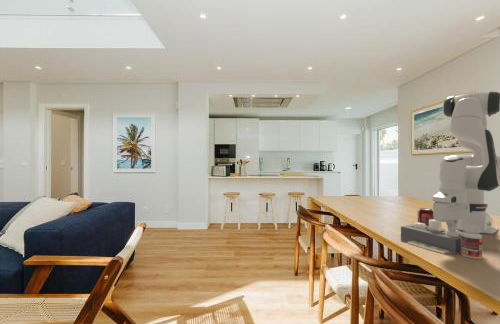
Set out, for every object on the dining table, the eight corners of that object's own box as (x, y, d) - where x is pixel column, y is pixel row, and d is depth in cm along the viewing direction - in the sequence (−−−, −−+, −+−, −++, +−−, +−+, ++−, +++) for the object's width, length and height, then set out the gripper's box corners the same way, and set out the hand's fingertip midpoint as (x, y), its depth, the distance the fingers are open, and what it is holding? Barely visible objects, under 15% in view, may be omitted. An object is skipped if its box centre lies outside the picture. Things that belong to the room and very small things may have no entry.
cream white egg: (432, 232, 117) (432, 219, 117) (443, 235, 113) (443, 221, 113) (426, 233, 115) (426, 219, 115) (437, 236, 111) (437, 222, 111)
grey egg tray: (418, 234, 127) (418, 223, 127) (473, 249, 107) (473, 235, 107) (400, 238, 121) (400, 226, 121) (455, 253, 101) (455, 239, 101)
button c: (448, 242, 111) (448, 228, 111) (460, 245, 107) (461, 231, 107) (442, 244, 109) (442, 229, 109) (454, 247, 105) (455, 232, 105)
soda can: (436, 235, 127) (436, 210, 127) (420, 234, 128) (421, 209, 128) (429, 231, 133) (430, 207, 133) (415, 230, 135) (415, 207, 135)
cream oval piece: (417, 234, 123) (417, 222, 123) (427, 237, 119) (427, 224, 119) (411, 236, 121) (411, 223, 121) (421, 238, 117) (421, 225, 117)
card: (413, 242, 115) (413, 240, 115) (449, 252, 103) (449, 250, 103) (407, 243, 114) (407, 241, 114) (443, 253, 101) (443, 251, 101)
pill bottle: (483, 260, 94) (484, 229, 94) (462, 257, 98) (462, 226, 98) (480, 255, 100) (480, 225, 100) (459, 252, 103) (460, 223, 103)
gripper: (457, 194, 115) (457, 226, 115) (429, 197, 106) (429, 231, 106) (475, 196, 110) (474, 229, 110) (447, 199, 101) (446, 235, 101)
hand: (452, 230), depth 108 cm, fingers closed, pressing on button c
